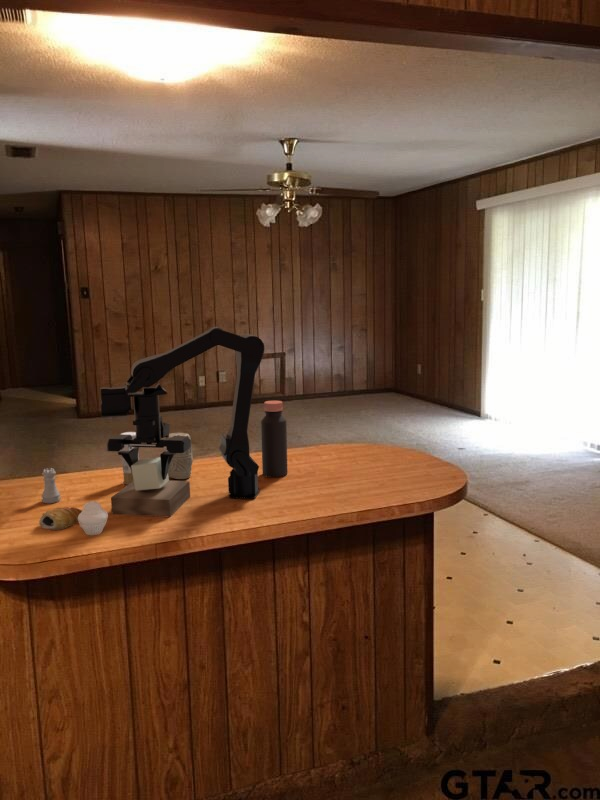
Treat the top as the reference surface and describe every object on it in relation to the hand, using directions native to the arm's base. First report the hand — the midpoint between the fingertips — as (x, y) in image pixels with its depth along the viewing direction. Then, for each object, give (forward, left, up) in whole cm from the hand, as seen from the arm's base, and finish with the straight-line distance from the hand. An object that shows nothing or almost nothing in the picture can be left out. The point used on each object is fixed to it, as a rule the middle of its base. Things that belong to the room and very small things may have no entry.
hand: (151, 478), depth 159 cm
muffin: (+6, +18, -7) cm, 20 cm away
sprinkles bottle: (+12, -16, -7) cm, 21 cm away
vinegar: (-24, -28, -7) cm, 37 cm away
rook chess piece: (+26, 0, -7) cm, 27 cm away
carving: (+1, -22, -7) cm, 23 cm away
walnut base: (0, 0, -6) cm, 6 cm away
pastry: (+16, +14, -7) cm, 22 cm away
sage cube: (0, 0, -2) cm, 2 cm away
